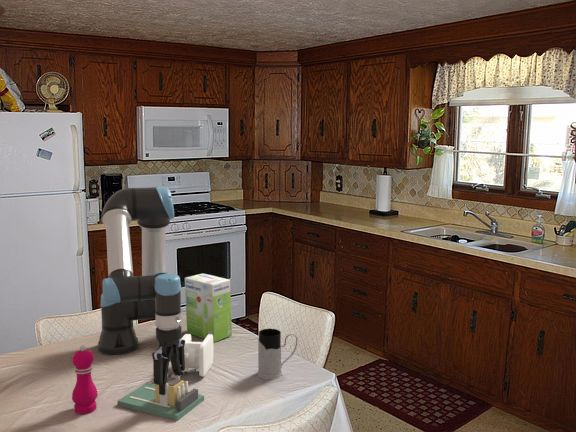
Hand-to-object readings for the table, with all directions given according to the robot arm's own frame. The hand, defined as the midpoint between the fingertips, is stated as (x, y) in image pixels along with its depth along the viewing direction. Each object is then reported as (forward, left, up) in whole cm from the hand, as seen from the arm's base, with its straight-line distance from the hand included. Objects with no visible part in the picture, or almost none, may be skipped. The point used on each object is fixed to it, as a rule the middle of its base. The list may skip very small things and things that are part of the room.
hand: (170, 399), depth 169 cm
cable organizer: (-7, +24, -2) cm, 25 cm away
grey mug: (+20, +35, -2) cm, 40 cm away
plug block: (0, 0, 0) cm, 0 cm away
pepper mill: (-21, -13, -2) cm, 25 cm away
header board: (-3, 0, -2) cm, 4 cm away
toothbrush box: (-22, +57, -2) cm, 61 cm away
